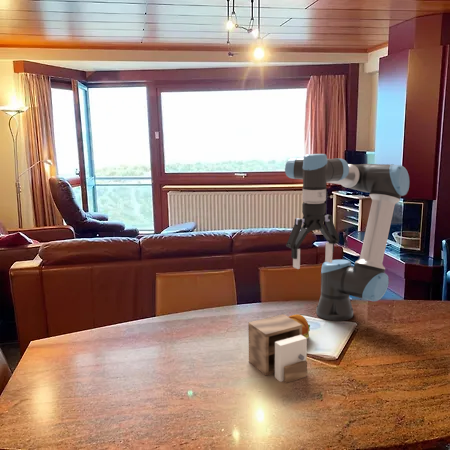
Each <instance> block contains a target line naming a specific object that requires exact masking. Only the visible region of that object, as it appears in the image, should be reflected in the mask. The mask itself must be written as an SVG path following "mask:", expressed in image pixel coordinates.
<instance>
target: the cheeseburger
mask: <svg viewBox="0 0 450 450" xmlns="http://www.w3.org/2000/svg"><path fill="white" fill-rule="evenodd" d="M288 317H289V318H291V319H293V320H295V321H296V322H298V323H300V324H301V325H302V336H304V337H306V338H307V339H308V338H309V337H310V329H311V325H310V324H309V323H308V321H307V319H306V318H305V316H304V315H301V314H292V315H289V316H288Z"/></svg>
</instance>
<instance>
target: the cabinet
mask: <svg viewBox="0 0 450 450" xmlns="http://www.w3.org/2000/svg"><path fill="white" fill-rule="evenodd" d="M298 335H302V325H301V324H300V323H298V322H296V321H295V320H293V319H291V318H289V316H287V315H286V314H284V313H282V314H278V315H273V316H269V317H265V318H261V319H257V320H253V321H249V322H248V362H249V363H250V364H251V365H252V366H254V368H256V369H257V370H258V371H260V372H261V373H262V374H263V375H264V376H265V377H266V376H269V375H272V374H275V342H276V341H280V340H283V339H287V338H291V337H294V336H298ZM306 377H308V361H307V359H306V360H305V361H301V362H298V363H295V364H292V365H288V366H285V367H284V381H283V382H284V383H285V384H288V383H290V382H294V381H297V380H300V379H303V378H306Z"/></svg>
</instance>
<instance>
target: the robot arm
mask: <svg viewBox="0 0 450 450" xmlns="http://www.w3.org/2000/svg"><path fill="white" fill-rule="evenodd" d="M285 162H286V163H285V165H284V166H285V167H284V173H285V176H286V177H288V178H289V179H294V180H302V194H301V195H302V197H301V198H302V199H301V200H302V204H301V205H302V207H301V208H302V209H301V210H302V218H298V217H295V218H294V224H293V227H292V229H291V232H290V234H289V237H288V239H287V242H286V244H285V246H286V248H289V249H291V258H292V268H294V269H297V270H299V269H301V248H299V247H300V246H301V245H302V243H303V242H304V240H305V238H306V237H307V235H308V234H309V233H310V232H314V231H319V232H320V233H321V235H323V237H324V239H325V240H326V241H327V242H325V250H324V251H325V252H324V253H325V259H324V262H323V263H322V265H321V270H320V271H321V272H320V277H321V278H320V297H319V301H318V304H317V305H316V307H315V309H316V315H317V316H318V317H319V318H321V319H323V320H327V321H332V322H333V321H334V322H344V321H348V320H350V319H352V318H354V317H353V316H354V308H353V305H352V302H351V298H350V296H351V297H355V298H358V299H362V300H363V301H371V302H378V301H379V300H381V299H382V298H383V297H384V295H385V294H386V293H387V290H388V286H389V284H390V283H389V282H390V281H389V278H390V277H389V276H388V274H387V273H386V267H385V266H384V264H383V262H384V256H385V252H386V246H387V242H388V238H389V233H390V228H391V223H392V219H393V215H394V209H395V205H397V204H398V203H399V202H400V201H401V197H402V196H406V195H407V194H408V192H409V188H410V175H409V173H408V170H407V169H406V167H404V166H403V165H402V164H393V163H392V164H390V163H389V164H388V163H387V164H383V163H382V164H379V163H378V164H377V163H363V164H362V163H361V164H359V163H358V164H352V163H348V162H347V160H345V159H344V158H339V157H338V158H337V157H335V158H328V156H327V154H326V153H306V154H304V156H303V157H291V158H289V159H288V160H287V161H285ZM327 184H336V185H341V186H342V187H344V188H346V189H347V188H348V189H351V190H355V191H356V190H357V191H360V192H363V193H369V195H368V196H369V198H370V199H371V206H370V208H369V214H368V219H367V223H366V227H365V233H364V237H363V243H362V246H361V250H360V251H361V252H360V255H359V258H358V259H357V260H356V261H355V262H354V265H352V262H351V261H350V260H349V259H333V253H334V251H335V245H336V244H337V243H338V242H339V241H340V237H339V234H338V231H337V230H336V227H335V224H334V220H333V215H332V214H328V213H327V211H326V210H327V209H326V208H327V204H326V201H327Z"/></svg>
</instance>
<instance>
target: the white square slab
mask: <svg viewBox="0 0 450 450" xmlns="http://www.w3.org/2000/svg"><path fill="white" fill-rule="evenodd" d="M307 344H308V338H306V337H304V336H302V335H298V336H294V337H291V338H287V339H283V340H280V341H276V342H275V373H274V378H275V379H277V381H279V382H281V383H282V382H284V367H285V366H288V365H292V364H295V363H298V362H301V361H305V360H306V361H307V354H308V353H307V351H308V349H307V347H308V345H307Z"/></svg>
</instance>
